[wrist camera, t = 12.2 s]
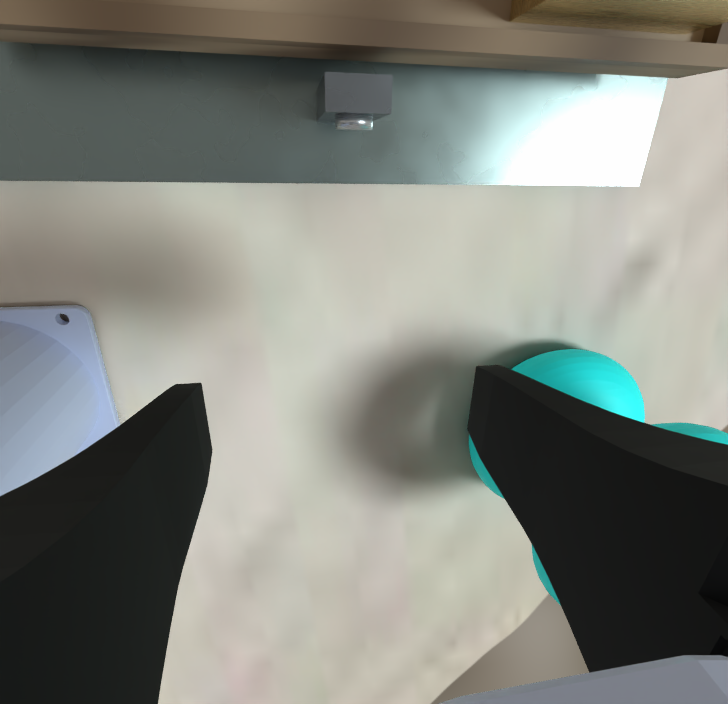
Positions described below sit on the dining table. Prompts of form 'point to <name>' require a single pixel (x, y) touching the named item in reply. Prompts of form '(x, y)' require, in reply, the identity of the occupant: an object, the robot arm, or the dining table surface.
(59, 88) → the stand
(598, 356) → the donuts
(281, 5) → the brown long flat tray
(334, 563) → the dining table surface
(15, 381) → the robot arm
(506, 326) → the dining table surface
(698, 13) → the block
